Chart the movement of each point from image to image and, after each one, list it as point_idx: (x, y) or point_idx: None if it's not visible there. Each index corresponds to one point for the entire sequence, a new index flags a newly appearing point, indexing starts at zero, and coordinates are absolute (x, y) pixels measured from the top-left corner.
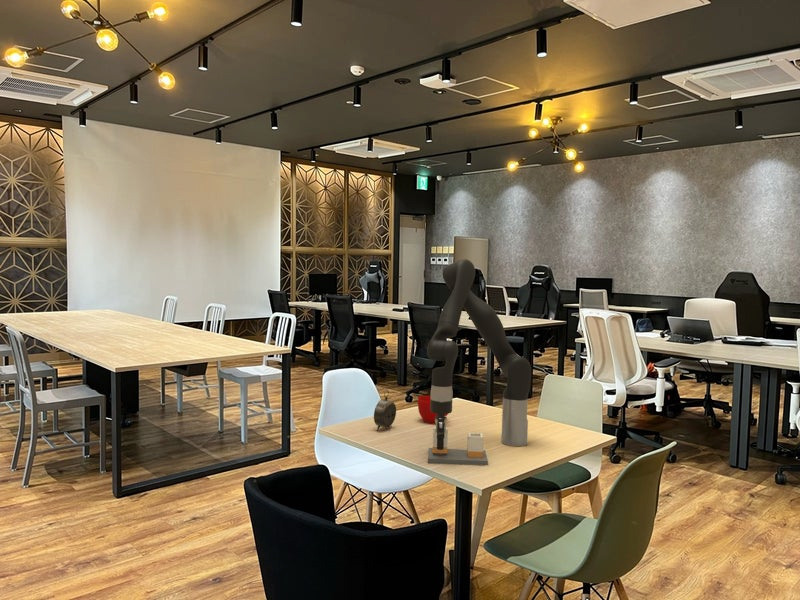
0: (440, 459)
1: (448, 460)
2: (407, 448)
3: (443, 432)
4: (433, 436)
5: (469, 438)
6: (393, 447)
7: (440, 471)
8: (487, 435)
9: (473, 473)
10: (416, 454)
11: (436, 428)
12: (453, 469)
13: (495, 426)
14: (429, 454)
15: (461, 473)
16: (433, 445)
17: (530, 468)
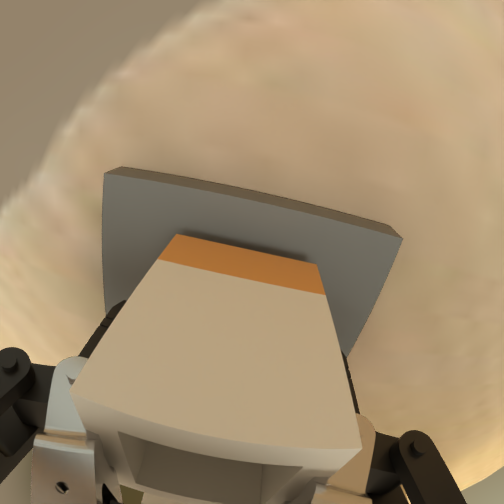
0: (104, 264)
1: (108, 309)
2: (484, 97)
3: None
4: (101, 346)
5: (143, 496)
6: (496, 22)
7: (11, 224)
8: (462, 449)
9: (35, 348)
10: (348, 109)
11: (36, 473)
12: (47, 294)
13: (497, 448)
14: (211, 203)
15: (19, 308)
16: (149, 274)
17: None
